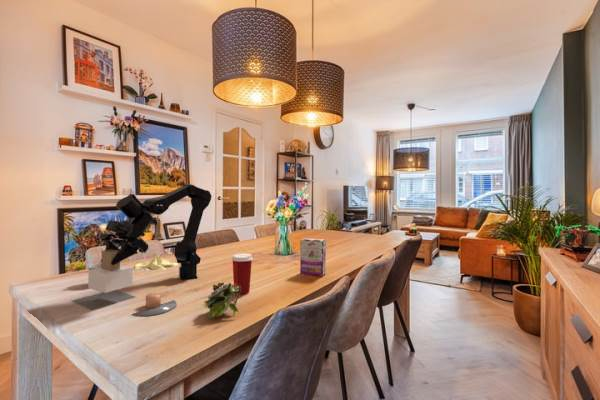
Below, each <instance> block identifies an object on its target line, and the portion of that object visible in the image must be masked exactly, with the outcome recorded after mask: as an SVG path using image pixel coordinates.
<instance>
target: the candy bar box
mask: <svg viewBox="0 0 600 400" xmlns="http://www.w3.org/2000/svg"><path fill="white" fill-rule="evenodd" d="M326 249H327V239H324V238H309V237H308V238H307V237H304V238H301V239H300V257H299V261H300V269H299V271H300V272H299V273H300V275H306V274H308V275H307V276H315V275H316V277H324V276H325V275H326V272H327V271H326V270H327V269H326V267H327V266H326V265H327V264H326V260H327V258H326V255H327V254H326V252H327V250H326ZM324 274H325V275H324Z"/></svg>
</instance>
